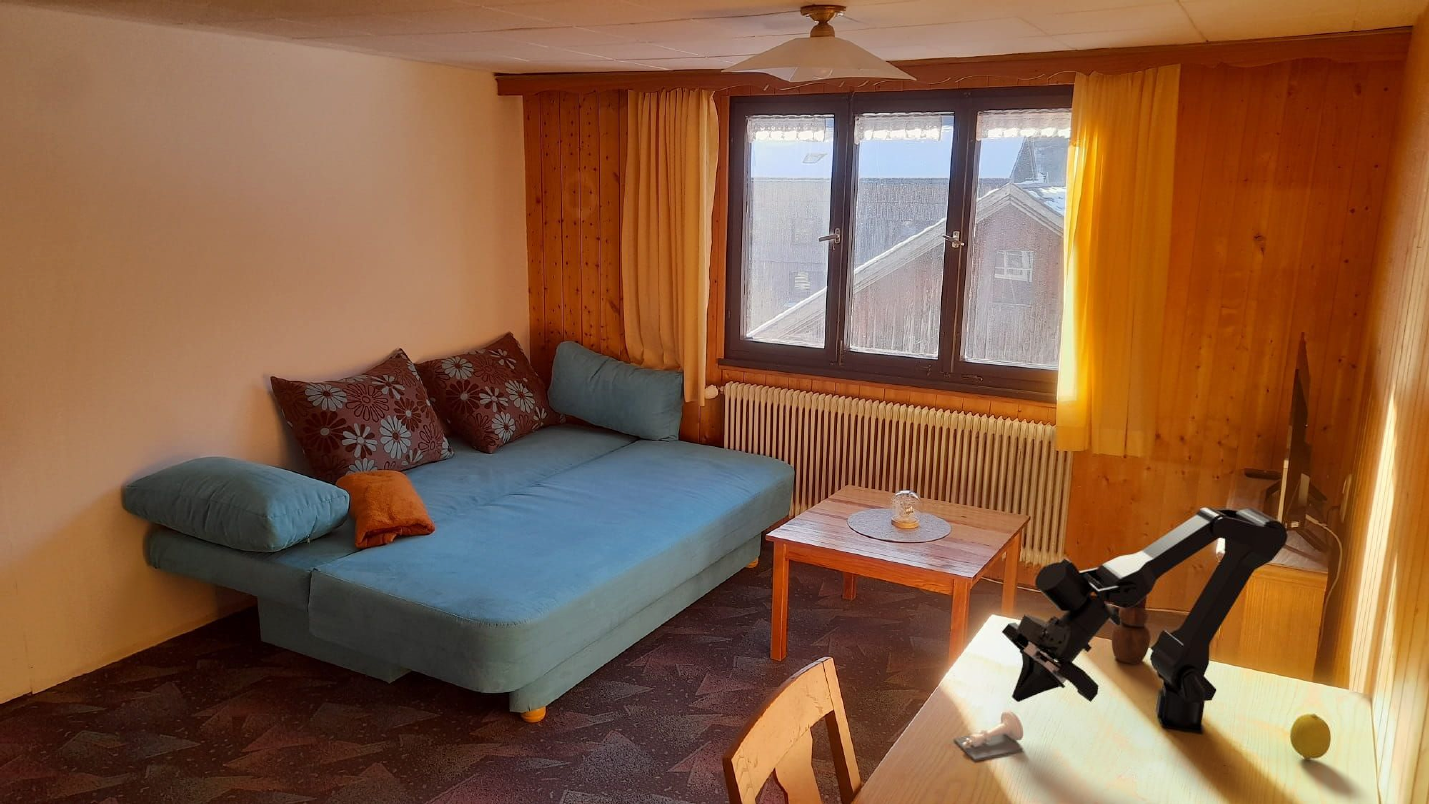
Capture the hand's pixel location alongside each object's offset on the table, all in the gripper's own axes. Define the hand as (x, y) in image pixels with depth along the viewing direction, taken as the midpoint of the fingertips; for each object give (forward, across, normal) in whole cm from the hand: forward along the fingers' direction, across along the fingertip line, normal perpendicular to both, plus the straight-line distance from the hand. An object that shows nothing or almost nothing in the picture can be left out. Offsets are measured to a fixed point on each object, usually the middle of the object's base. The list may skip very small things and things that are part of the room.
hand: (1014, 699), depth 164 cm
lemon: (-24, +19, +36) cm, 47 cm away
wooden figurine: (-21, -17, +33) cm, 43 cm away
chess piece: (+3, -1, +4) cm, 5 cm away
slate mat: (+8, 0, +2) cm, 9 cm away
